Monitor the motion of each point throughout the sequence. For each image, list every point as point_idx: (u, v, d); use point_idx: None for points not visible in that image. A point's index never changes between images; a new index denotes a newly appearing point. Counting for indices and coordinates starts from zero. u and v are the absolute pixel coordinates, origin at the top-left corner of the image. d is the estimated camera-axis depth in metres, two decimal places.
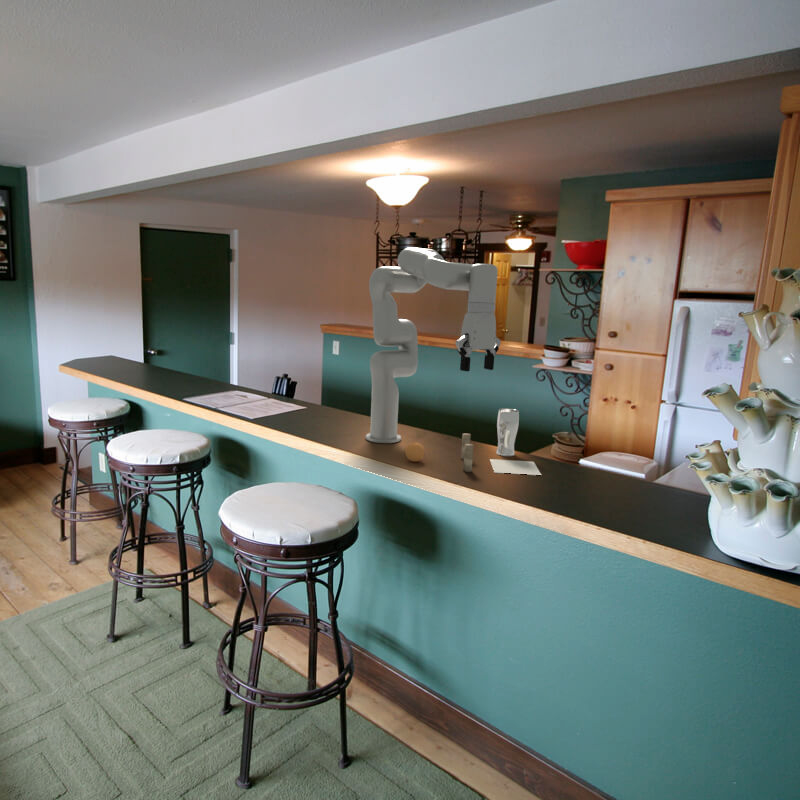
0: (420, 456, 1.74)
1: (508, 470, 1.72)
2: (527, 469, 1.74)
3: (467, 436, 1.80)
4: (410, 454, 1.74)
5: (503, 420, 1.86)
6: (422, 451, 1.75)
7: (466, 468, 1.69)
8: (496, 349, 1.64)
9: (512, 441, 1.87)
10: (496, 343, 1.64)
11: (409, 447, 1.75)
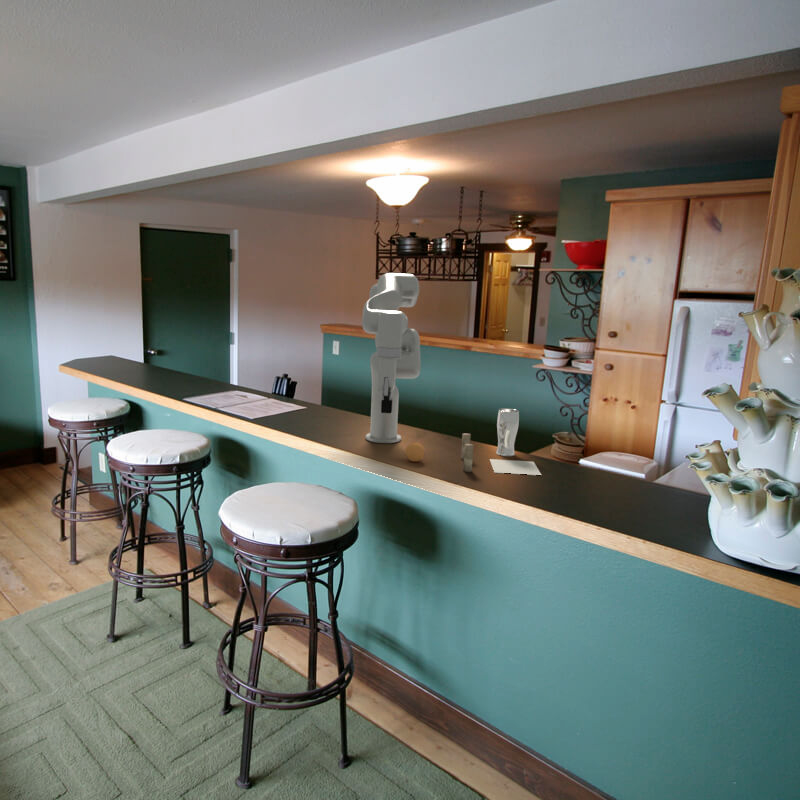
0: (420, 456, 1.74)
1: (508, 470, 1.72)
2: (527, 469, 1.74)
3: (467, 436, 1.80)
4: (410, 454, 1.74)
5: (503, 420, 1.86)
6: (422, 451, 1.75)
7: (466, 468, 1.69)
8: (390, 392, 1.76)
9: (512, 441, 1.87)
10: None
11: (409, 447, 1.75)
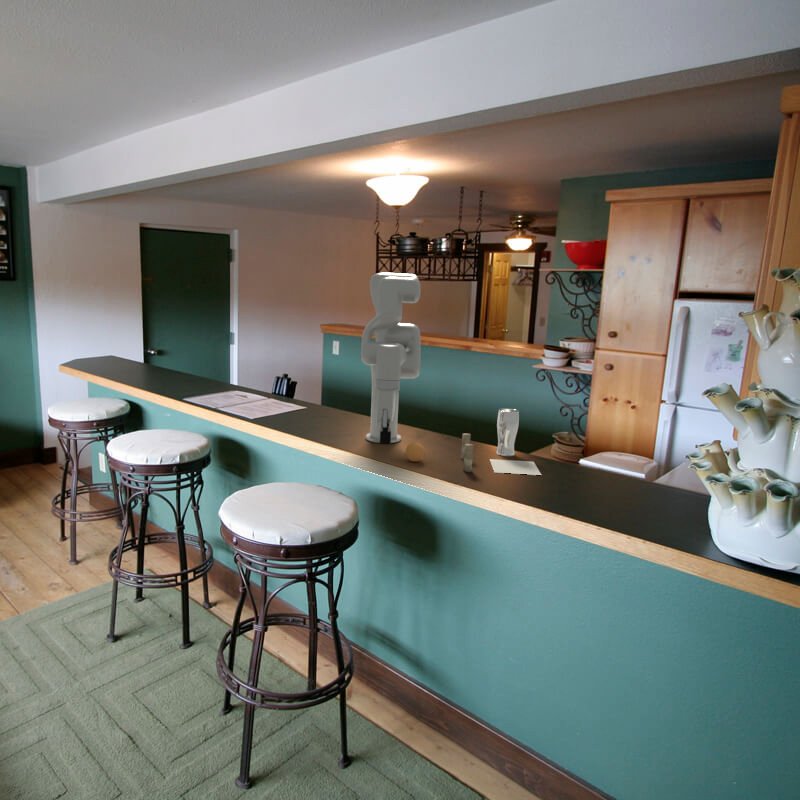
0: (420, 456, 1.74)
1: (508, 470, 1.72)
2: (527, 469, 1.74)
3: (467, 436, 1.80)
4: (410, 454, 1.74)
5: (503, 420, 1.86)
6: (422, 451, 1.75)
7: (466, 468, 1.69)
8: None
9: (512, 441, 1.87)
10: None
11: (409, 447, 1.75)
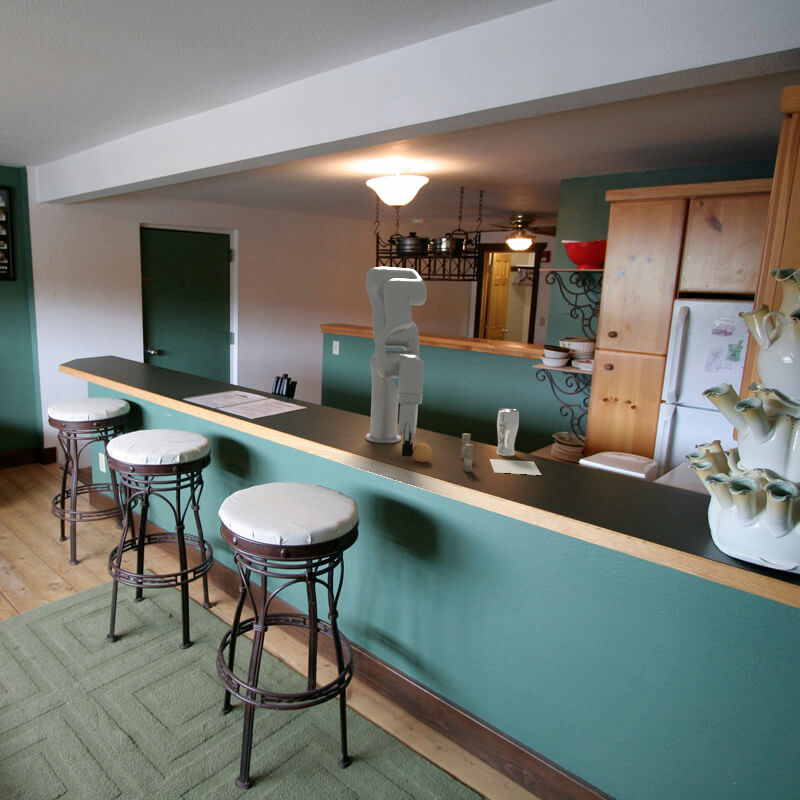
0: (425, 459, 1.74)
1: (508, 470, 1.72)
2: (527, 469, 1.74)
3: (467, 436, 1.80)
4: (417, 453, 1.74)
5: (503, 420, 1.86)
6: (429, 455, 1.75)
7: (466, 468, 1.69)
8: None
9: (512, 441, 1.87)
10: None
11: (419, 446, 1.74)
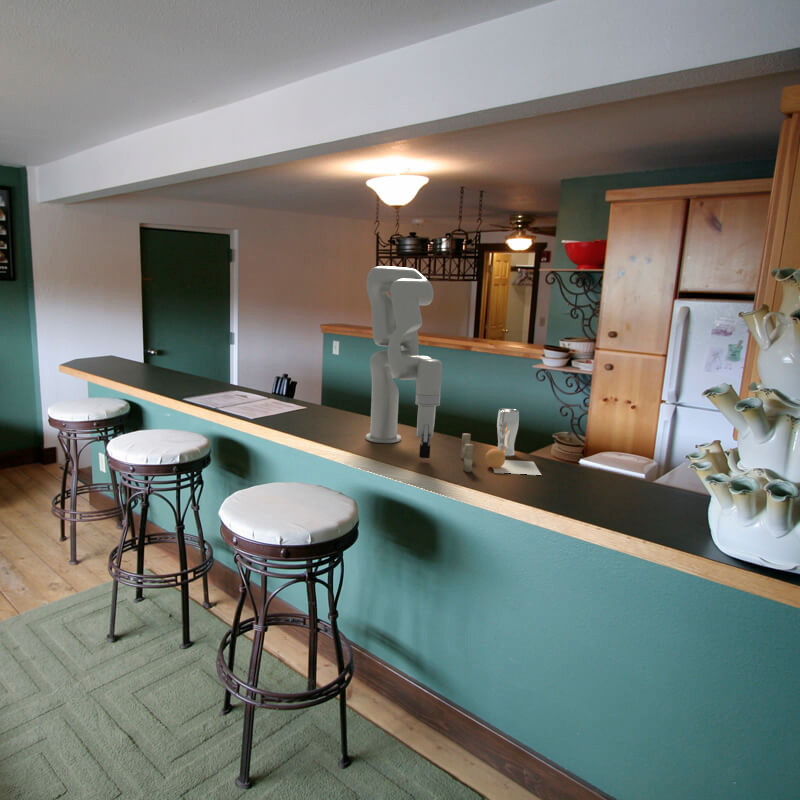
0: (492, 465, 1.72)
1: (508, 470, 1.72)
2: (527, 469, 1.74)
3: (467, 436, 1.80)
4: (495, 456, 1.71)
5: (503, 420, 1.86)
6: (496, 467, 1.73)
7: (466, 468, 1.69)
8: None
9: (512, 441, 1.87)
10: None
11: (502, 455, 1.72)
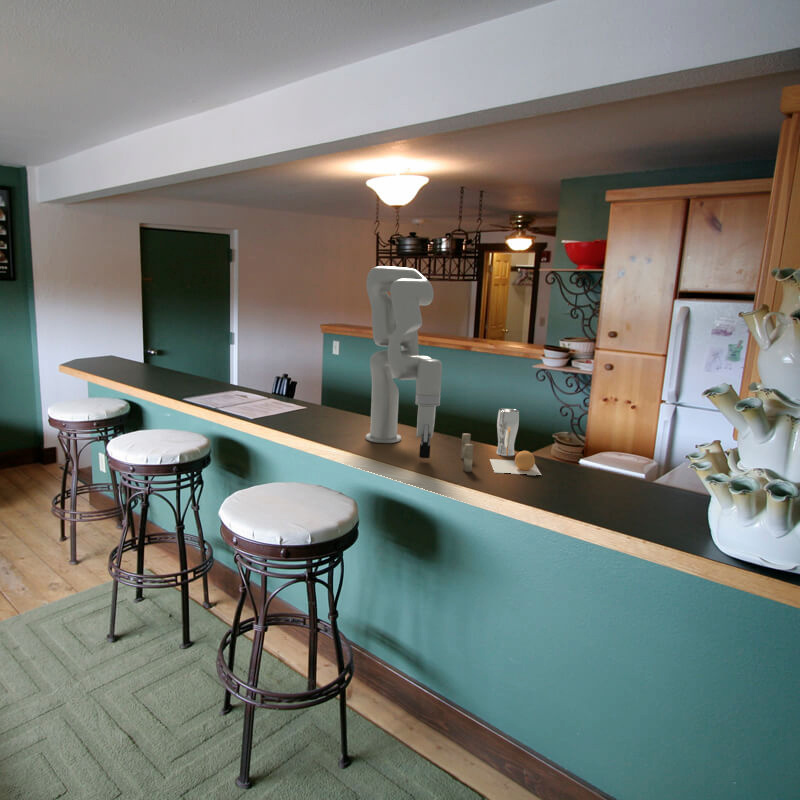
0: (527, 456, 1.70)
1: (508, 470, 1.72)
2: None
3: (467, 436, 1.80)
4: (526, 467, 1.70)
5: (503, 420, 1.86)
6: (522, 454, 1.71)
7: (466, 468, 1.69)
8: None
9: (512, 441, 1.87)
10: None
11: (519, 467, 1.72)
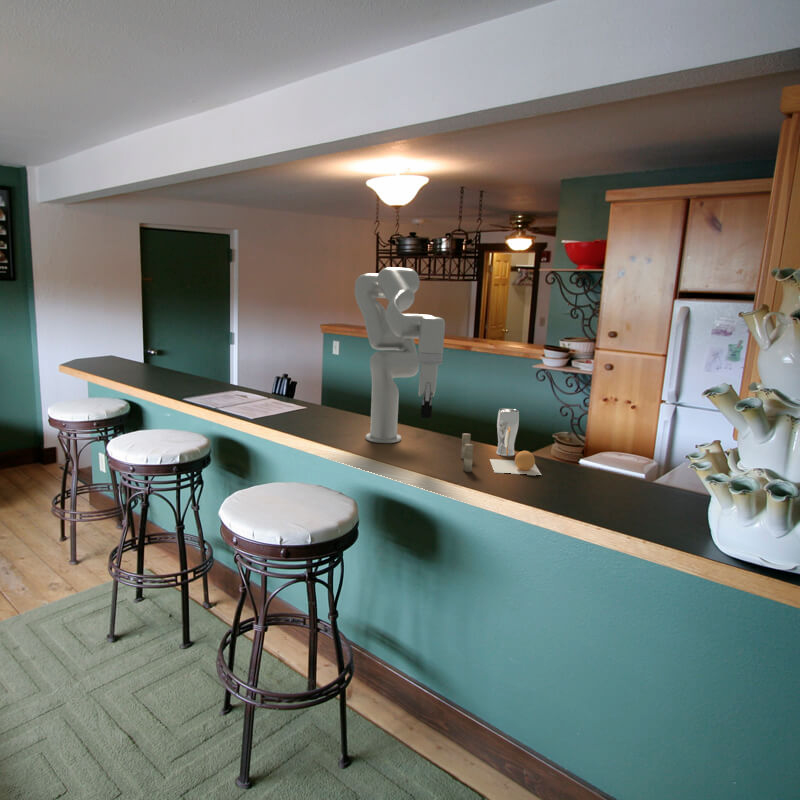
0: (527, 456, 1.70)
1: (508, 470, 1.72)
2: None
3: (467, 436, 1.80)
4: (526, 467, 1.70)
5: (503, 420, 1.86)
6: (522, 454, 1.71)
7: (466, 468, 1.69)
8: None
9: (512, 441, 1.87)
10: None
11: (519, 467, 1.72)
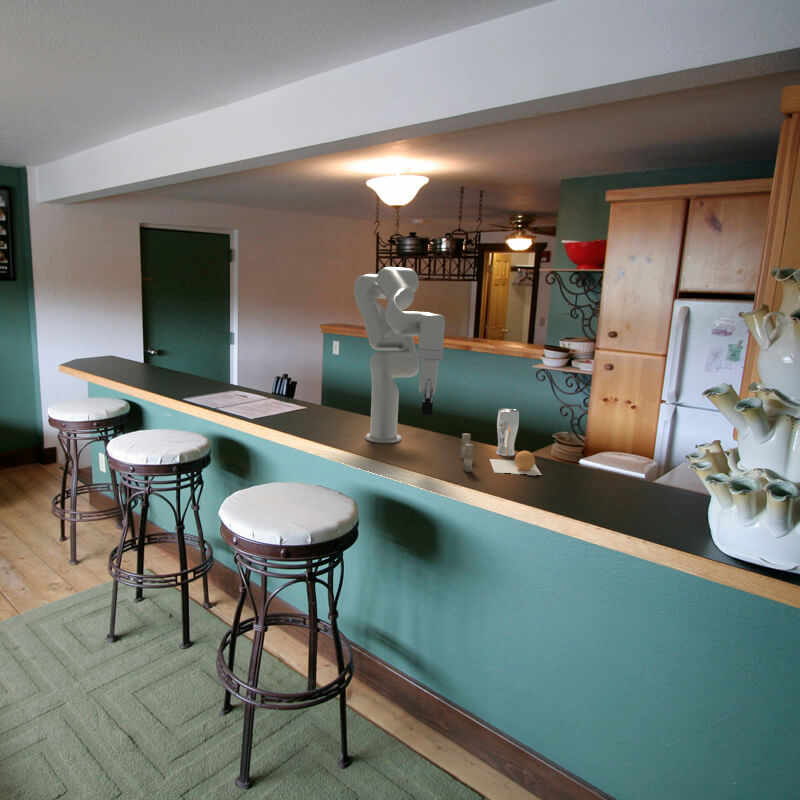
0: (527, 456, 1.70)
1: (508, 470, 1.72)
2: None
3: (467, 436, 1.80)
4: (526, 467, 1.70)
5: (503, 420, 1.86)
6: (522, 454, 1.71)
7: (466, 468, 1.69)
8: None
9: (512, 441, 1.87)
10: None
11: (519, 467, 1.72)
